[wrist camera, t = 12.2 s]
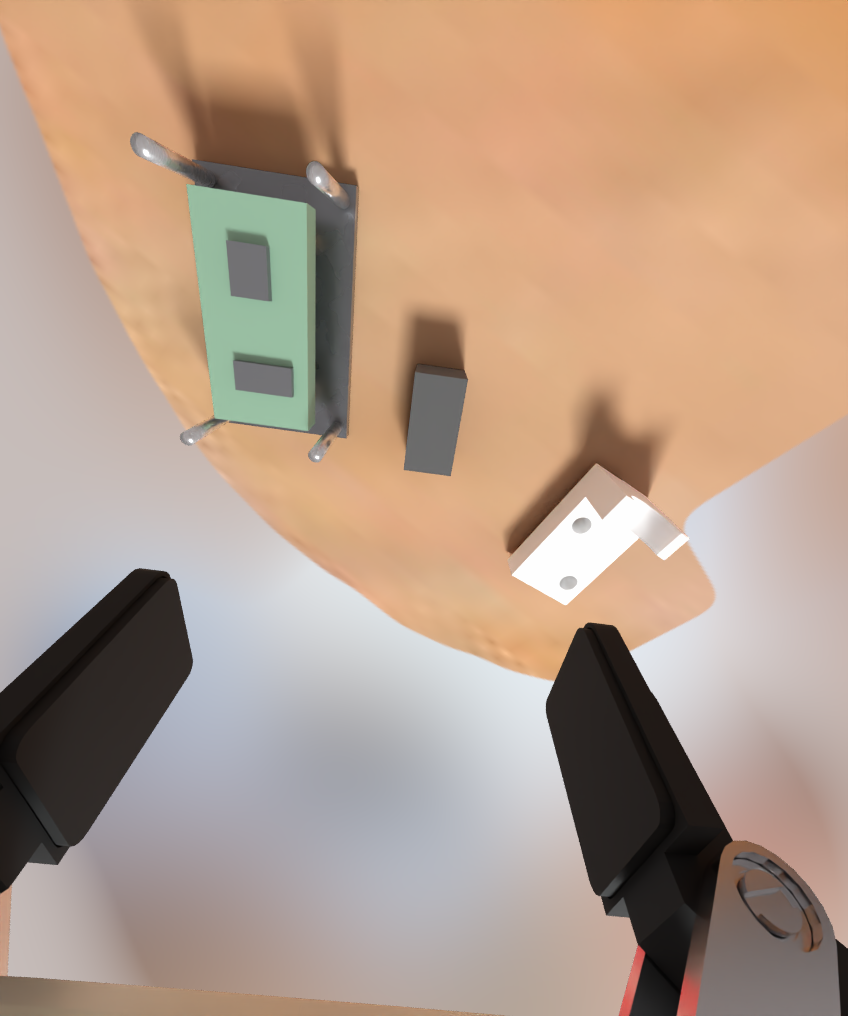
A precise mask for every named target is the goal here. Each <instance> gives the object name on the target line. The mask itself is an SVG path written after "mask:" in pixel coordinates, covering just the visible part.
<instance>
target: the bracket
mask: <svg viewBox="0 0 848 1016" xmlns="http://www.w3.org/2000/svg"><path fill="white" fill-rule="evenodd" d="M638 538H640V539H641V540H642V541H643V542H644V543H645V544H646V545H647V546H648V547H649V548H650V549H651V550H652V551H653V552H654V553H655V554H656V555H657V556H659V557H660V558H662V559H663V560H665V559H666V558H668V557H669V556H670V555H671V554H672V553H673V552H675V551H676V550H677V549H678V548H679V547H680V546H682V545H683V544H684V543H685V542H686V541H687V540H689V539H690V538H689V537H688V536H687V535H686V534H685V533H684V532H683V531H682V530H681V529H679V528H678V527H677V526H676V525H675V524H674V523H673V522H672V521H671V520H670V519H669V518H668V517H667V516H666V515H665V514H664V513H663V512H662V511H661V510H660V509H659V508H658V507H657V506H656V505H655V504H654V503H653V502H652V501H651V500H650V499H649V498H648V497H646V496H645V495H643V494H642V493H640V492H639V491H638V490H636V489H635V488H633V487H632V486H630V485H629V484H627V483H626V482H625V481H623V480H622V479H621V480H620V479H619V478H617V477H616V476H614V475H613V474H612V473H610V472H609V471H607V470H606V469H604V468H603V467H601V466H600V465H598V464H597V463H596V464H595V465H594V466H593V467H592V468H591V469H590V470H589V471H588V472H587V474H586V475H585V476H584V477H583V478H582V479H581V480H580V481H579V482H578V483H577V484H576V486H575V487H574V488H573V489H572V490H571V491H570V492H569V493H568V494H567V495H566V496H565V497H564V499H563V500H562V501H561V502H560V503H559V504H558V505H557V506H556V507H555V508H554V509H553V511H552V512H551V513H550V514H549V515H548V516H547V517H546V518H545V519H544V520H543V521H542V523H541V524H540V525H539V526H538V527H537V528H536V529H535V530H534V531H533V532H532V533H531V534H530V536H529V537H528V538H527V539H526V540H525V541H524V542H523V543H522V544H521V545H520V546H519V548H518V549H517V550H516V551H515V552H514V553H513V554H512V555H511V556H510V557H509V558H508V559H507V560H508V564H509V567H510V571H511V575H512V576H514V577H516V578H518V579H519V580H521V581H523V582H525V583H527V584H528V585H530V586H532V587H534V588H536V589H537V590H539V591H541V592H543V593H544V594H546V595H548V596H550V597H552V598H553V599H555V600H557V601H559V602H560V603H562V604H564V605H567V604H568V603H569V602H570V601H571V600H572V599H573V598H574V597H575V596H576V595H578V594H579V593H580V592H581V591H582V590H583V589H584V588H585V587H586V586H587V585H588V584H589V583H591V582H592V581H593V580H594V579H595V578H596V577H597V576H598V575H599V574H600V573H601V572H603V571H604V570H605V569H606V568H607V567H608V566H609V565H610V564H611V563H612V562H613V561H614V560H616V559H617V558H618V557H619V556H620V555H621V554H622V553H623V552H624V551H625V550H626V549H627V548H629V547H630V546H631V545H632V544H633V543H634V542H635V541H636V540H637V539H638Z"/></svg>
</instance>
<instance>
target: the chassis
mask: <svg viewBox="0 0 848 1016" xmlns="http://www.w3.org/2000/svg"><path fill="white" fill-rule="evenodd" d="M130 144H131V147H132V149H133V151H134V152H135V154H136V155H138V156H139V157H142V158H144V159H146V160H148V161H150V162H152V163H155V164H157V165H159V166H161V167H163V168H166V169H168V170H170V171H172V172H174V173H177V174H179V175H181V176H183V177H185V178H188V179H190V180H192V181H194V182H195V186H201V187H208V188H214V189H220V190H227V191H233V192H239V193H246V194H252V195H258V196H265V197H271V198H277V199H284V200H290V201H296V202H303V203H307V204H309V205H310V206H312V207H313V208H314V209H316V270H315V424H314V425H313V426H312V427H311V428H310V430H309V431H304V430H297V429H289V428H282V427H275V426H267V425H260V424H253V423H245V422H238V421H231V420H223V419H216V418H215V417H214V415H213V416H212V417H210V418H208V419H206V420H204V421H203V422H201V423H199V424H197V425H195V426H194V427H192V428H190V429H188V430H186V431H185V432H183V433H181V435H180V440H181V441H182V442H183V443H184V444H185V445H192V444H194V443H196V442H197V441H199V440H200V439H202V438H204V437H205V436H207V435H208V434H210V433H212V432H213V431H215V430H216V429H218V428H220V427H221V426H223V425H224V424H226V423H228V422H229V423H237V424H244V425H252V426H259V427H266V428H274V429H281V430H289V431H296V432H303V433H311V434H318V435H322V436H321V438H320V439H319V440H318V442H317V443H316V444H315V445H314V447H313V448H312V449H311V450H310V452H309V454H308V456H309V459H310V460H311V461H313V462H319V461H321V459H322V458H323V456H324V455H325V454H326V452H327V451H328V449H329V448H330V446H331V445H332V443H333V442H334V440H335V439H336V438H337V437H340V438H347V436H348V433H349V410H350V386H351V363H352V340H353V316H354V293H355V269H356V246H357V222H358V199H359V188H358V187H357V186H356V185H350V184H343V183H337V181H336V180H335V179H334V178H333V177H332V176H331V175H330V174H329V173H328V172H327V170H326V169H325V168H324V167H323V166H322V165H321V164H320V163H319V162H316V161H312V162H310V163H309V164H308V166H307V169H306V175H307V178H306V177H300V176H293V175H287V174H281V173H275V172H268V171H262V170H256V169H250V168H243V167H237V166H231V165H224V164H218V163H212V162H206V161H199V160H193V159H192V161H191V160H189V159H188V158H186V157H184V156H182V155H180V154H178V153H176V152H174V151H173V150H171V149H169V148H167V147H165V146H163V145H161V144H160V143H158V142H156V141H154V140H152V139H150V138H148V137H146V136H145V135H143V134H141V133H134V134H132V136H131V139H130Z"/></svg>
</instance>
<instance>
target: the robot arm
mask: <svg viewBox="0 0 848 1016" xmlns="http://www.w3.org/2000/svg"><path fill="white" fill-rule="evenodd" d="M192 664H193V659H192V653H191V649H190V644H189V639H188V635H187V629H186V625H185V621H184V615H183V610H182V606H181V601H180V596H179V592H178V587H177V583H176V581H175V580H174V579H171V578H170V575H169V574H168V573H167V572H164V571H157V570H149V569H140V568H139V569H135V570H134V571H133V572H131V573H130V574H129V575H128V576H127V577H126V578H125V579H124V580H122V581H121V582H120V583H119V584H118V585H117V586H116V587H115V588H114V589H113V590H112V591H111V592H109V593H108V594H107V595H106V596H105V597H104V598H103V599H102V600H101V601H100V602H99V603H98V604H96V605H95V606H94V607H93V608H92V609H91V610H90V611H89V612H88V613H87V614H86V615H84V616H83V617H82V618H81V619H80V620H79V621H78V622H77V623H76V624H75V625H74V626H72V627H71V628H70V629H69V630H68V631H67V632H66V633H65V634H64V635H63V636H62V637H60V638H59V639H58V640H57V641H56V642H55V643H54V644H53V645H52V646H51V647H50V648H48V649H47V650H46V651H45V652H44V653H43V654H42V655H41V656H40V657H39V658H38V659H36V660H35V661H34V662H33V663H32V664H31V665H30V666H29V667H28V668H27V669H26V670H25V671H24V672H22V673H21V674H20V675H19V676H18V677H17V678H16V679H15V680H14V681H13V682H12V683H10V684H9V685H8V686H7V687H6V688H5V689H4V690H3V691H2V692H1V693H0V1016H503V1015H492V1014H479V1013H469V1012H456V1011H445V1010H434V1009H423V1008H410V1007H399V1006H386V1005H375V1004H362V1003H350V1002H337V1001H325V1000H314V999H301V998H288V997H276V996H264V995H251V994H239V993H226V992H213V991H202V990H189V989H175V988H162V987H149V986H136V985H123V984H110V983H96V982H82V981H70V980H57V979H44V978H30V977H12V976H7V973H8V953H9V933H10V913H11V892H12V883H13V882H14V880H15V879H16V877H17V876H18V875H19V873H20V872H21V871H22V869H23V868H24V866H25V865H26V864H27V862H30V863H42V864H52V865H58V864H59V862H60V861H61V859H62V858H63V856H64V854H65V853H66V852H67V850H68V849H69V847H70V846H75V845H76V844H78V843H79V842H80V841H81V840H82V839H83V838H84V836H85V835H86V834H87V832H88V831H89V829H90V828H91V826H92V824H93V823H94V821H95V820H96V818H97V817H98V815H99V814H100V812H101V811H102V809H103V807H104V806H105V804H106V803H107V801H108V800H109V798H110V797H111V795H112V794H113V792H114V791H115V789H116V787H117V786H118V784H119V783H120V781H121V779H122V778H123V777H124V775H125V773H126V772H127V770H128V769H129V767H130V766H131V764H132V763H133V761H134V759H135V758H136V756H137V755H138V753H139V752H140V750H141V749H142V747H143V746H144V744H145V743H146V741H147V739H148V738H149V736H150V735H151V733H152V732H153V730H154V728H155V727H156V725H157V724H158V722H159V721H160V719H161V718H162V716H163V715H164V713H165V712H166V710H167V708H168V707H169V705H170V704H171V702H172V701H173V699H174V698H175V696H176V694H177V693H178V691H179V690H180V688H181V687H182V685H183V684H184V682H185V681H186V679H187V677H188V676H189V674H190V672H191V669H192ZM546 714H547V719H548V723H549V726H550V731H551V734H552V738H553V742H554V746H555V750H556V754H557V757H558V761H559V765H560V769H561V773H562V777H563V781H564V785H565V788H566V792H567V796H568V800H569V804H570V808H571V811H572V815H573V819H574V823H575V827H576V831H577V835H578V838H579V842H580V846H581V850H582V854H583V858H584V862H585V865H586V869H587V873H588V877H589V881H590V884H591V886H592V888H593V891H594V892H595V894H596V895H598V896H601V898H602V902H603V905H604V909H605V913H606V915H608V916H619V917H629V918H630V920H631V924H632V927H633V930H634V933H635V936H636V940H637V943H638V946H637V950H636V954H635V957H634V961H633V965H632V968H631V972H630V976H629V979H628V983H627V987H626V990H625V994H624V997H623V1001H622V1005H621V1008H620V1012H619V1016H848V949H847V948H846V947H845V946H844V945H843V944H841V943H840V942H839V941H838V940H837V939H835V935H834V931H833V927H832V925H831V922H830V920H829V918H828V916H827V914H826V912H825V910H824V907H823V906H822V904H821V903H820V902H819V900H818V898H817V897H816V896H815V894H814V893H813V891H812V890H811V888H810V887H809V886H808V885H807V884H806V882H805V881H804V880H803V879H802V878H801V877H800V876H799V875H798V874H797V872H795V870H794V869H792V868H791V867H790V866H789V865H788V864H787V863H785V862H784V861H783V860H782V859H781V858H779V857H778V856H777V855H775V854H774V853H772V852H770V851H769V850H767V849H765V848H764V847H762V846H760V845H757V844H754V843H751V842H748V841H733V840H732V838H731V836H730V834H729V833H728V831H727V829H726V827H725V825H724V823H723V821H722V820H721V818H720V816H719V814H718V812H717V810H716V808H715V807H714V805H713V803H712V801H711V799H710V797H709V795H708V794H707V792H706V790H705V788H704V786H703V784H702V783H701V781H700V779H699V777H698V775H697V773H696V771H695V769H694V768H693V766H692V764H691V762H690V760H689V758H688V756H687V755H686V753H685V751H684V749H683V747H682V745H681V744H680V742H679V740H678V738H677V736H676V734H675V733H674V731H673V729H672V727H671V725H670V723H669V721H668V719H667V718H666V716H665V714H664V712H663V710H662V708H661V706H660V705H659V703H658V701H657V699H656V698H655V696H654V695H653V693H652V692H651V691H650V689H649V687H648V686H647V684H646V682H645V680H644V678H643V676H642V675H641V673H640V671H639V669H638V667H637V665H636V663H635V661H634V660H633V658H632V656H631V654H630V652H629V650H628V648H627V646H626V644H625V643H624V641H623V639H622V637H621V635H620V633H619V631H618V630H617V628H616V627H614V626H613V625H605V624H597V623H587V624H586V625H585V626H584V628H579V629H578V630H577V632H576V634H575V636H574V638H573V641H572V643H571V645H570V648H569V650H568V652H567V654H566V657H565V659H564V661H563V664H562V666H561V668H560V671H559V673H558V675H557V677H556V680H555V682H554V684H553V687H552V689H551V691H550V694H549V696H548V698H547V701H546Z"/></svg>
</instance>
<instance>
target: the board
mask: <svg viewBox="0 0 848 1016" xmlns="http://www.w3.org/2000/svg"><path fill="white" fill-rule="evenodd" d="M186 185H187V193H188V201H189V210H190V218H191V226H192V235H193V243H194V251H195V259H196V268H197V276H198V284H199V293H200V301H201V309H202V317H203V326H204V334H205V342H206V350H207V359H208V367H209V375H210V384H211V392H212V400H213V408H214V417H215V418H216V419H223V420H231V421H238V422H245V423H253V424H260V425H267V426H275V427H282V428H289V429H297V430H304V431H309V430H310V428H311V427H312V426H313V425H314V424H315V270H316V209H314V208H313V207H312V206H310V205H309V204H307V203H303V202H296V201H290V200H284V199H277V198H271V197H265V196H258V195H252V194H246V193H239V192H233V191H227V190H220V189H214V188H208V187H201V186H195V185H189V184H186Z"/></svg>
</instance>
